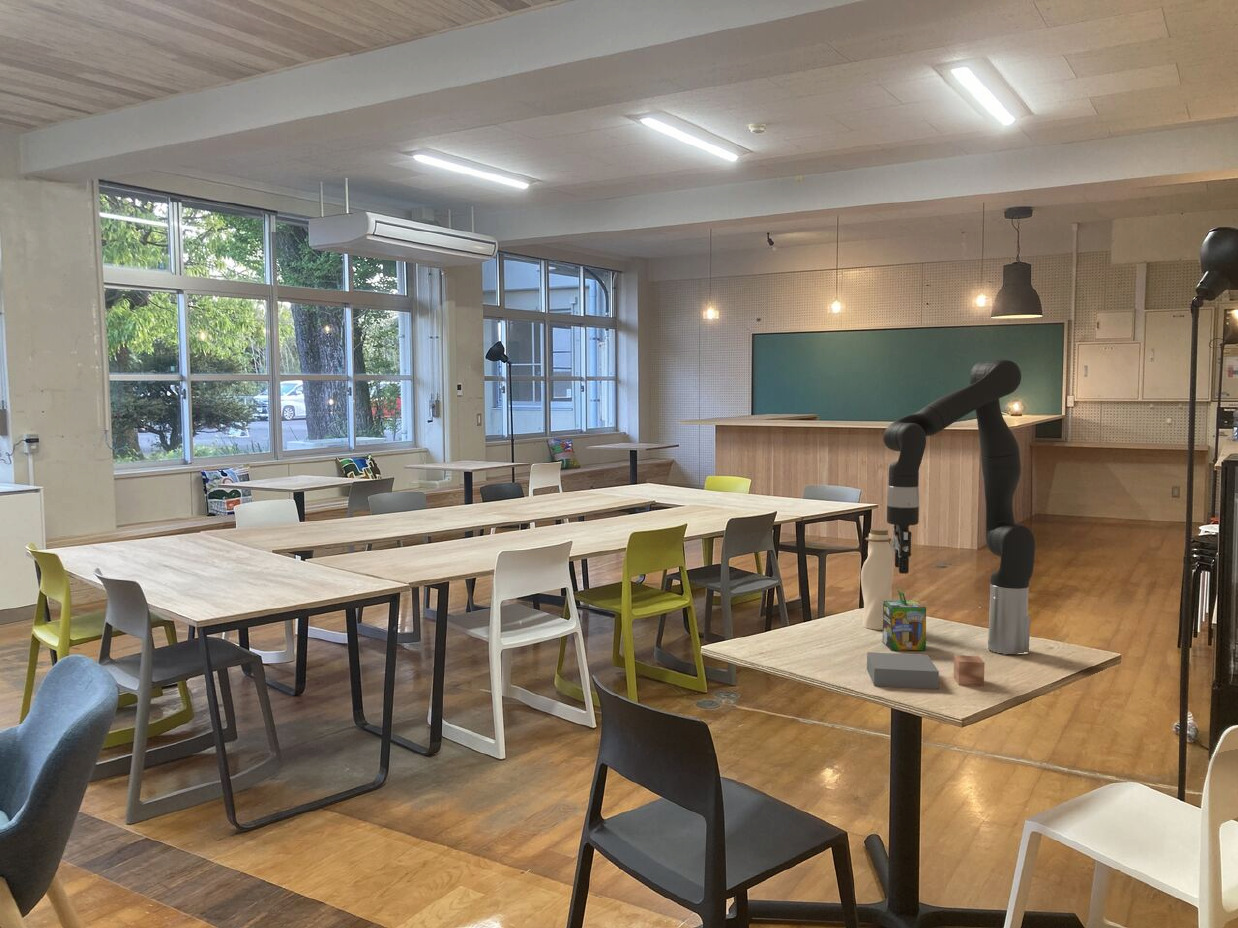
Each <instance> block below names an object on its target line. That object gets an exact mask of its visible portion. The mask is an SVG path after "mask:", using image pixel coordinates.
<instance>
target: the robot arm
mask: <svg viewBox="0 0 1238 928" xmlns="http://www.w3.org/2000/svg"><path fill="white" fill-rule="evenodd" d="M969 374H970V375H969V384H970V385H968V386H965V387H963V388H961V389H960V388H959V389H958V390H954V391H952V392H950V393H948V394H945V395H943V396H941V397H939V398H937V399H935V400H934V401H932V402H930V403H929V404H927V405H925V406H924V407H923V408H921V409H920V410H919V411H916V412H914V413H911V414H909V415H906V416H903V417H901V418H898V419H897V420H895V421H893V422H892V423H891V424H889V425H888V426H887V427H886V428H885V431H884V433H883V436H882V437H883V438H882V439H883V443H884V445H885V446H886V448H888V449H889V450H891V451H895V452H900V453H899V455H898V459H897V461H894V462H891V463H890V464H889V468H888V485H887V486H888V488H887V493H886V494H887V496H886V497H887V498H886V522H887V524H889V525H893V531H892V536H893V538H892V539H893V547H894V568H898V572H899V574H905V575H906V574H909V571H910V570H909V566H910V565H909V562H910V560H909V559H910V558H911V556H912V549H911V548H912V531H910V530H909V529H910V526H916V525H918V524H919V523H920V520H919V519H920V518H919V517H920V490H919V478H920V477H919V476H920V475H919V474H920V473H919V472H920V471H919V470H920V467H921V464H922V460H923V457H924V453H925V450H926V444H927V437H928V436H934V435H936V434H938V433H940V432H941V431H943V430H945V429H946V428H948V427H949V426H951V425H953V424H954V423H955V422H957V421H958V420H960V419H962V418H963V417H965V416H967V415H968V414H971V412H974V411H975V414H976V416H975V417H976V420H977V429H978V437H979V438H978V439H979V445H980V447H979V448H980V461H981V470H982V475H983V476H982V477H983V485H984V486H983V487H984V498H985V499H984V501H985V541H986V546H987V548H988V550H989V551H990V552H991V554H993V555H995V556H997V557H1000V562H999V563H1000V564H999V568H998V570H995V571H993V572H992V573H991V574H990V583H989V584H990V586H989V610H988V611H989V614H988V634H987V635H988V639H987V649H988V650H989V651H990V650H991V651H990V652H992V651H993V653H995V652H997V653H996V654H999V653H1003V654H1002V655H1006V654H1018V653H1024V652H1029V653H1030V635H1031V634H1030V633H1031V631H1030V629H1031V617H1030V616H1029V598H1030V597H1029V593H1030V580H1031V578H1032V576H1033V574H1034V565H1035V554H1036V538H1035V535H1034V533H1033V531H1032V530H1031V529H1030V528H1029V527H1027V526H1025V525H1022V524H1017V523H1015V517H1014V507H1013V504H1014V503H1013V501H1014V495H1015V492H1016V489H1017V487H1018V484H1019V480H1020V477H1021V475H1022V474H1021V473H1022V471H1021V470H1022V466H1021V456H1020V448H1019V443H1018V441H1017V438H1016V437H1015V436H1014V433H1013V432H1012V430H1011V429H1010V427H1009V426H1008V424H1007V422H1006V420H1005V418H1004V417H1003V414H1002V411H1001V403H1000V399H1001V398H1003V397H1006V396H1009V395H1011V394H1013V393H1014V392H1015V391H1016V390H1017V389H1018V388H1019V386H1020V384H1021V381H1022V372H1021V369H1020V367H1019V366H1018V364H1017V363H1016V362H1014V361H1013V360H1010V359H1009V360H1008V359H990V360H989V359H988V360H983V361H978V362H976V363H975V364H974V365H973V366H972V368H971V371H970V373H969Z"/></svg>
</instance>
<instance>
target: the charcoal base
mask: <svg viewBox="0 0 1238 928" xmlns="http://www.w3.org/2000/svg"><path fill="white" fill-rule="evenodd" d="M866 653H867V654H866V671H867V672H868V675H869V677H870V680H871V682H872V685H873V686H874V687H889V688H890V687H891V688H892V687H893V688H907V689H908V688H909V689H910V688H911V689H927V690H928V689H929V690H930V689H931V690H939V677H940V671H939V670H938V668H937V666H936V665H935V664H934V663H933V661H932V659H931V658H930V657H929V655H928V654H918V653H917V654H915V653H914V654H913V653H911V654H910V653H909V654H908V653H893V652H874V651H872V652H870V651H867V652H866Z"/></svg>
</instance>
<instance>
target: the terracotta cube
mask: <svg viewBox="0 0 1238 928" xmlns="http://www.w3.org/2000/svg"><path fill="white" fill-rule="evenodd" d="M953 656H954V657H953V680H954V681H955V682H956V683H957V685H958V686H970V687H971V686H974V687H985V667H986V666H985V661H983V659H982V658H981V657H980V656H979V655H965V654H964V655H960V654H959V655H958V654H954V655H953Z"/></svg>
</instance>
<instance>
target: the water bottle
mask: <svg viewBox="0 0 1238 928" xmlns="http://www.w3.org/2000/svg"><path fill="white" fill-rule="evenodd" d="M865 540H866V541H868V544H867V547H868V548H867V558H866V559H865V561H863V565H862V568H861V573H860V574H861V575H860V583H861V593H862V598H863V600H862V601H863V616H862V627H863V628H864V629H869V630H875V631H876V630H877V631H878V630H882V631H883V602H884V601H893V593H892V587H893V582H894V581H893V580H894V573H895V572H894V571H895V563H894V559H895V551H894V547H893V538H891V537H890V535H889V529H888V528H880V527H877V528H876V527H875V528H874V527H873V528H870V531H869V533H868V536H867V537H865Z"/></svg>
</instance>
